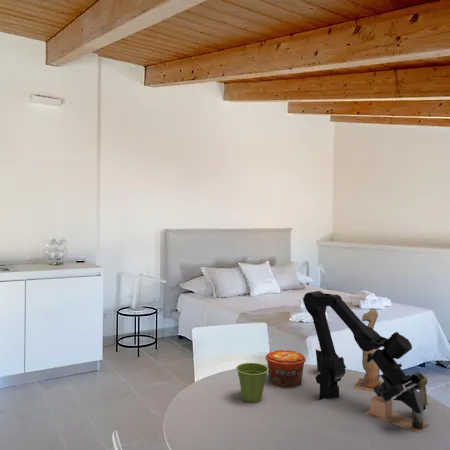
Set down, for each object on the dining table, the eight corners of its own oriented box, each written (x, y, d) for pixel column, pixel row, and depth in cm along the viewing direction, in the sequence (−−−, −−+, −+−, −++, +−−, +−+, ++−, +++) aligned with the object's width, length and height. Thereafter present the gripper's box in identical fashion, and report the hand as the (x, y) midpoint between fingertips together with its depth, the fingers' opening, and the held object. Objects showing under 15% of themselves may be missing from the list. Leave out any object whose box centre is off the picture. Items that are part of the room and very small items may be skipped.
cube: (370, 413, 147) (370, 398, 147) (378, 409, 150) (378, 394, 150) (384, 418, 143) (384, 403, 143) (392, 414, 146) (392, 398, 146)
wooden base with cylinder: (363, 416, 147) (364, 378, 147) (376, 409, 152) (376, 372, 152) (418, 437, 134) (418, 394, 133) (429, 428, 139) (430, 388, 139)
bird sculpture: (357, 383, 178) (356, 303, 178) (388, 387, 173) (387, 305, 173) (353, 393, 168) (351, 309, 167) (386, 398, 163) (384, 311, 162)
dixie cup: (337, 376, 184) (337, 350, 184) (319, 378, 183) (319, 351, 182) (328, 370, 192) (328, 344, 192) (311, 371, 190) (311, 345, 190)
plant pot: (231, 402, 158) (231, 371, 158) (242, 390, 169) (242, 361, 169) (262, 408, 153) (263, 375, 153) (272, 395, 164) (272, 365, 164)
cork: (430, 410, 153) (430, 378, 152) (411, 408, 154) (412, 377, 154) (425, 403, 159) (426, 372, 158) (407, 401, 160) (408, 371, 160)
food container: (301, 392, 168) (301, 363, 168) (260, 385, 174) (260, 358, 173) (308, 377, 183) (309, 351, 183) (271, 372, 189) (271, 347, 188)
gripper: (385, 372, 155) (416, 414, 147) (357, 386, 142) (389, 432, 135) (408, 355, 149) (441, 398, 141) (381, 368, 137) (416, 415, 129)
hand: (422, 411), depth 137 cm, fingers closed on wooden base with cylinder, 3 cm apart
